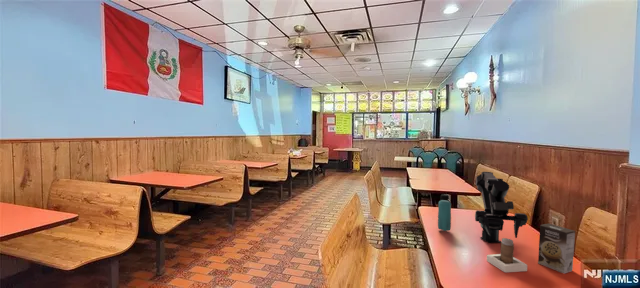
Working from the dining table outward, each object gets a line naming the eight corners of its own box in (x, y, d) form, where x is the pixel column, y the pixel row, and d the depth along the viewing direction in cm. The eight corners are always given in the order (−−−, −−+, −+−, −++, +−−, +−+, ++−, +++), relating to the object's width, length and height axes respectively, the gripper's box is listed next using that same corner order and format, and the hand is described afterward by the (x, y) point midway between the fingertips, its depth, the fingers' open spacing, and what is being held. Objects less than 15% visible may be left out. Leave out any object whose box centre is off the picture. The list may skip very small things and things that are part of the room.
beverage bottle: (452, 234, 142) (453, 196, 141) (438, 233, 143) (439, 195, 142) (448, 229, 148) (450, 193, 147) (436, 228, 150) (437, 193, 149)
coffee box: (537, 263, 111) (538, 224, 110) (546, 260, 113) (548, 222, 112) (564, 274, 102) (566, 232, 102) (573, 270, 105) (575, 230, 104)
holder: (507, 259, 114) (507, 253, 114) (527, 271, 105) (527, 264, 104) (486, 260, 113) (486, 254, 113) (504, 272, 103) (505, 266, 103)
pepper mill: (503, 262, 111) (504, 237, 111) (514, 266, 108) (516, 241, 107) (497, 264, 109) (499, 239, 109) (509, 269, 106) (510, 243, 105)
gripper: (475, 192, 120) (478, 225, 111) (526, 195, 113) (534, 230, 103) (473, 205, 128) (476, 236, 119) (521, 208, 120) (528, 242, 111)
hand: (502, 236), depth 113 cm, fingers open, 9 cm apart
